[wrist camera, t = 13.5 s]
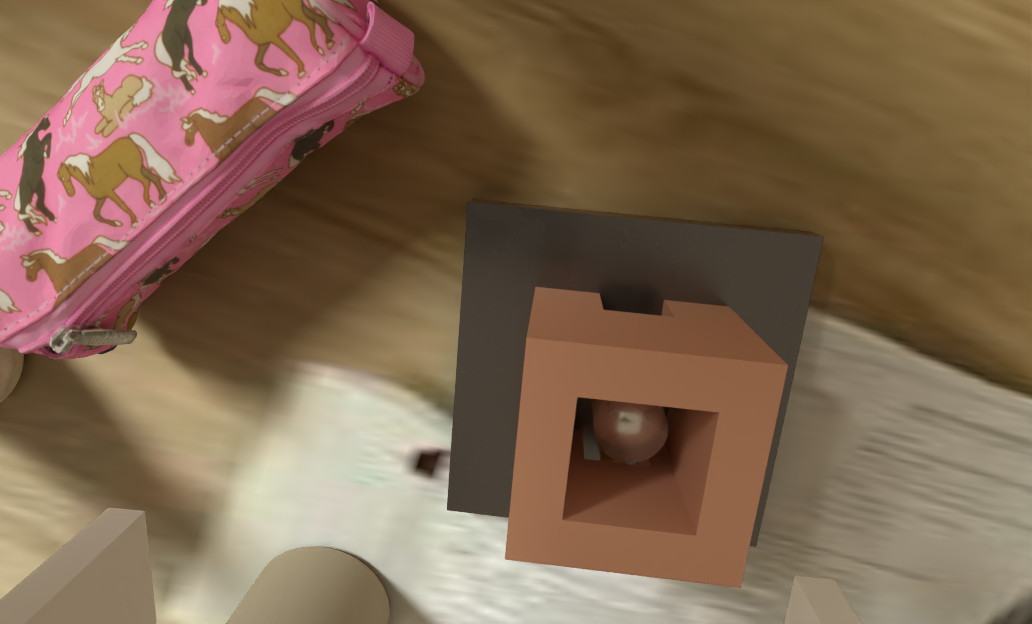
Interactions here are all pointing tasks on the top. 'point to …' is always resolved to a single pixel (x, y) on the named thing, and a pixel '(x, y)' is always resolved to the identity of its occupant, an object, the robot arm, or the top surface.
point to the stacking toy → (9, 370)
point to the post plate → (623, 287)
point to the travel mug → (314, 591)
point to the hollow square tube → (673, 469)
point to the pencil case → (176, 152)
